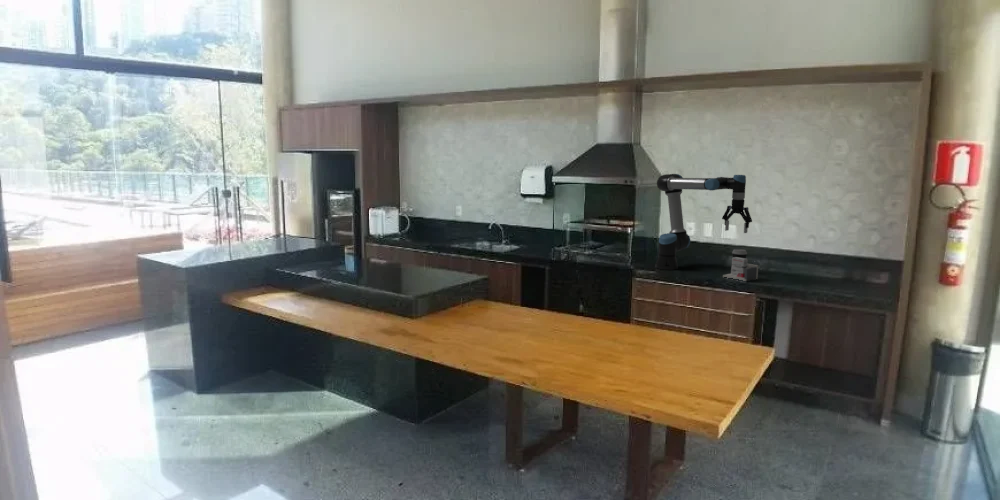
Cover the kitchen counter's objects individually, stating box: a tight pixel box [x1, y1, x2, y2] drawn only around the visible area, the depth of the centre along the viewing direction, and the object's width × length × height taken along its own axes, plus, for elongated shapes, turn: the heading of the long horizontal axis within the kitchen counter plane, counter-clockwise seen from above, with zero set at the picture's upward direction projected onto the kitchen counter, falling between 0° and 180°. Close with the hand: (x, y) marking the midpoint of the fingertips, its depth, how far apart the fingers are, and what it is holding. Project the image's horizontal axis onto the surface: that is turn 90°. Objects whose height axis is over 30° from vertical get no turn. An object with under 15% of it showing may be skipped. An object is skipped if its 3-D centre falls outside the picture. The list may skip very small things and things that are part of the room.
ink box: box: [730, 256, 749, 278], centre depth 371 cm, size 8×5×12 cm, turn 38°
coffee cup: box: [731, 248, 748, 259], centre depth 388 cm, size 10×10×15 cm
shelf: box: [722, 263, 759, 282], centre depth 371 cm, size 16×13×9 cm
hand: (736, 231), depth 376 cm, fingers open, 13 cm apart
